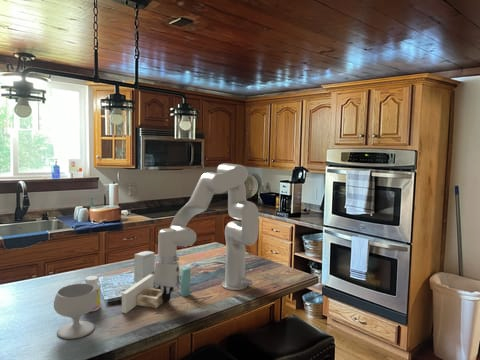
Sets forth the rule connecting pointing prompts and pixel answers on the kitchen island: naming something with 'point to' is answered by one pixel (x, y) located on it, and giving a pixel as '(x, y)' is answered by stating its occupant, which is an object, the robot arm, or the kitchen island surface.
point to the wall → (135, 292)
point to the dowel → (185, 282)
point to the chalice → (75, 309)
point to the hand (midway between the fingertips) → (166, 301)
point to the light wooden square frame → (150, 298)
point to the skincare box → (144, 265)
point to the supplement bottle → (93, 281)
